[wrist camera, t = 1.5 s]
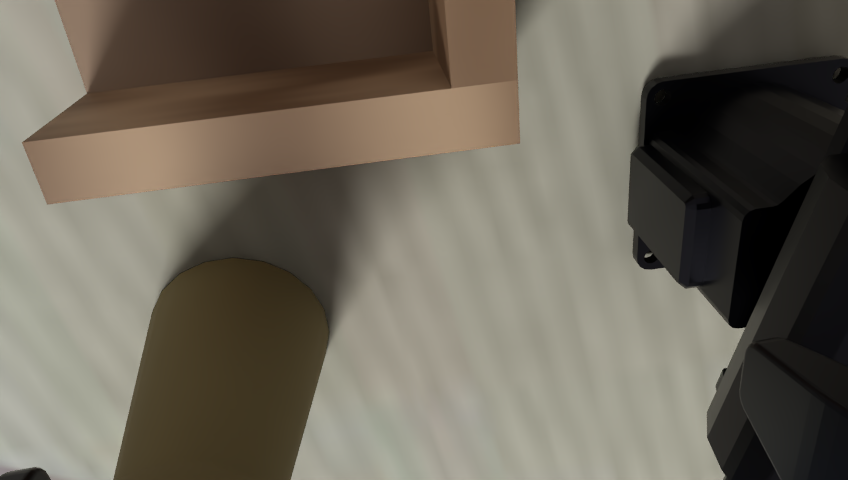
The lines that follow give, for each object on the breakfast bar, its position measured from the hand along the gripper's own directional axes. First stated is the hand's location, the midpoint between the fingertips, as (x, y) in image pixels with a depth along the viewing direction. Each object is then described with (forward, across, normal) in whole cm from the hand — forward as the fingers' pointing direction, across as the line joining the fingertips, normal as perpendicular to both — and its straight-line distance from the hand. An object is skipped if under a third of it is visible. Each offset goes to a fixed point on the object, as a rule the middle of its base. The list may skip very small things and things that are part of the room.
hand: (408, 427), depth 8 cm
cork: (+13, +5, +7) cm, 16 cm away
